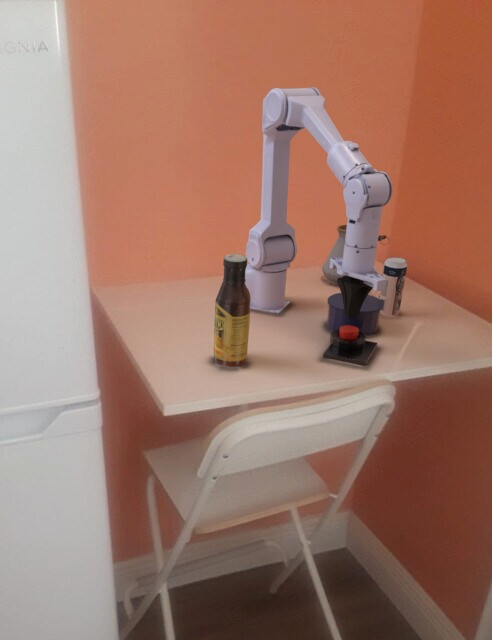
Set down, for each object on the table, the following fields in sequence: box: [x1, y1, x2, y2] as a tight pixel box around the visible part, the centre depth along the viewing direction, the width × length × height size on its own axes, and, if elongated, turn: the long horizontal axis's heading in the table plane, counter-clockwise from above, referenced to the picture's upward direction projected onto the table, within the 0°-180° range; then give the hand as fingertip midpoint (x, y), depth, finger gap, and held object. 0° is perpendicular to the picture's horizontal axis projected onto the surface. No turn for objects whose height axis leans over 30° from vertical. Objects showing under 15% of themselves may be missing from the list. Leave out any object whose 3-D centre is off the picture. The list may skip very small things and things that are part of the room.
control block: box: [322, 329, 379, 367], centre depth 133 cm, size 10×8×3 cm
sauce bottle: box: [213, 253, 251, 368], centre depth 124 cm, size 7×6×20 cm
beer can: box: [378, 256, 408, 317], centre depth 150 cm, size 5×5×12 cm
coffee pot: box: [321, 224, 391, 286], centre depth 164 cm, size 21×12×15 cm, turn 19°
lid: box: [326, 292, 383, 314], centre depth 142 cm, size 11×11×4 cm
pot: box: [326, 304, 381, 336], centre depth 144 cm, size 10×10×5 cm
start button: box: [339, 325, 359, 340], centre depth 134 cm, size 4×4×2 cm
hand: (351, 316), depth 132 cm, fingers closed
